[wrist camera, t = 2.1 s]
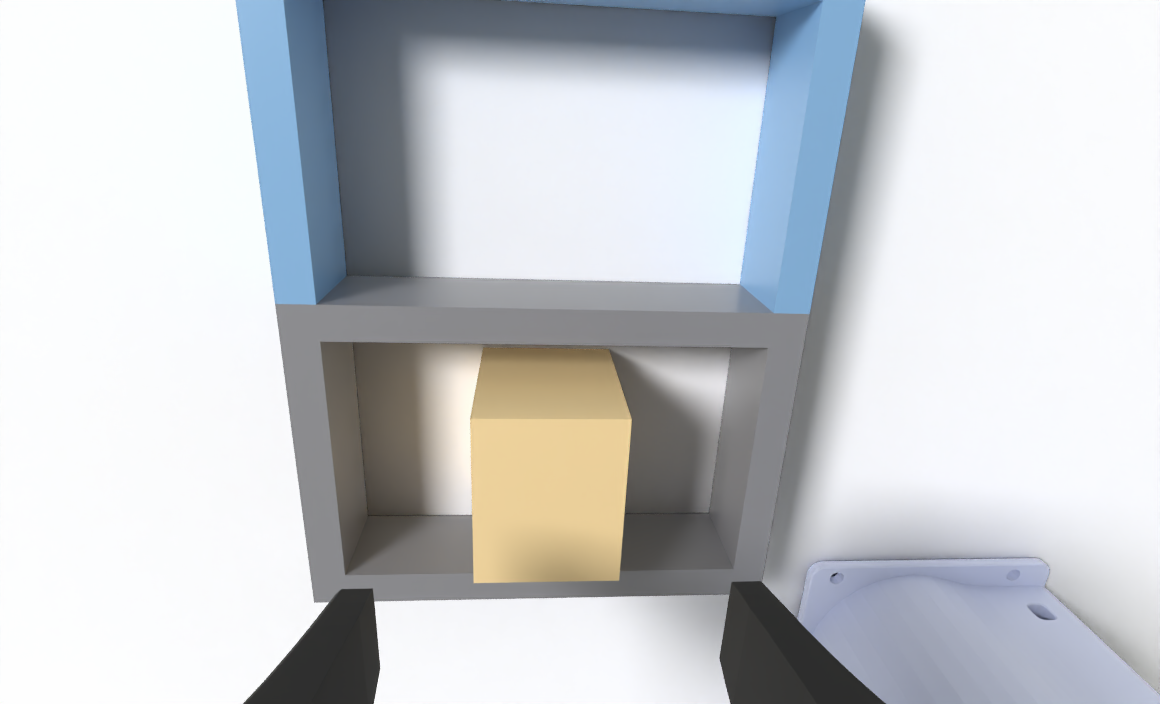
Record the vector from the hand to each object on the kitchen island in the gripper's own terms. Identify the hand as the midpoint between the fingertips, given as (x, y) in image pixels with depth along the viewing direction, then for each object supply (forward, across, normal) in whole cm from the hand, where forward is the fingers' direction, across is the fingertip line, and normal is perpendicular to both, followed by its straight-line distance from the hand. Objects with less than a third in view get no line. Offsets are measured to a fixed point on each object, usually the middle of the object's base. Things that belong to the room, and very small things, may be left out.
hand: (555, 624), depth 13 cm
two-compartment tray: (+9, 0, -4) cm, 10 cm away
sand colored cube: (+9, 0, 0) cm, 9 cm away
